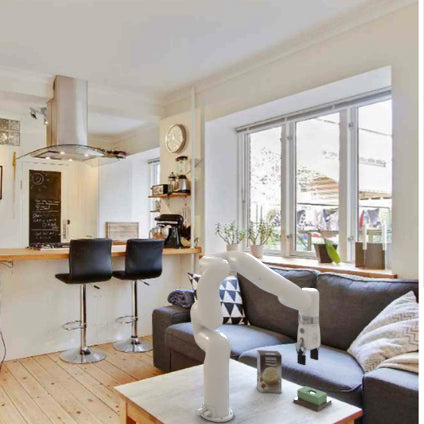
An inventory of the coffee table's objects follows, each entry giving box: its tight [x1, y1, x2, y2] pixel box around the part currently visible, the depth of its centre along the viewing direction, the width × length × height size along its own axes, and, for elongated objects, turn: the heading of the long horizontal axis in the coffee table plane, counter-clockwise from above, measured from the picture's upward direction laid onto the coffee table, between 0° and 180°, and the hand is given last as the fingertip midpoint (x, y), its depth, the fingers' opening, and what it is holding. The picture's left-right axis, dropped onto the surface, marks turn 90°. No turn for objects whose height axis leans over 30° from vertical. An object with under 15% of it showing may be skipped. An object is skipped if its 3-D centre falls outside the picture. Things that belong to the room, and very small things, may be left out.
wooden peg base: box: [293, 392, 332, 412], centre depth 169 cm, size 11×10×4 cm
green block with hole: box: [296, 385, 328, 405], centre depth 169 cm, size 6×9×3 cm
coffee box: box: [256, 349, 283, 394], centre depth 182 cm, size 9×6×16 cm
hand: (307, 361), depth 169 cm, fingers open, 9 cm apart
